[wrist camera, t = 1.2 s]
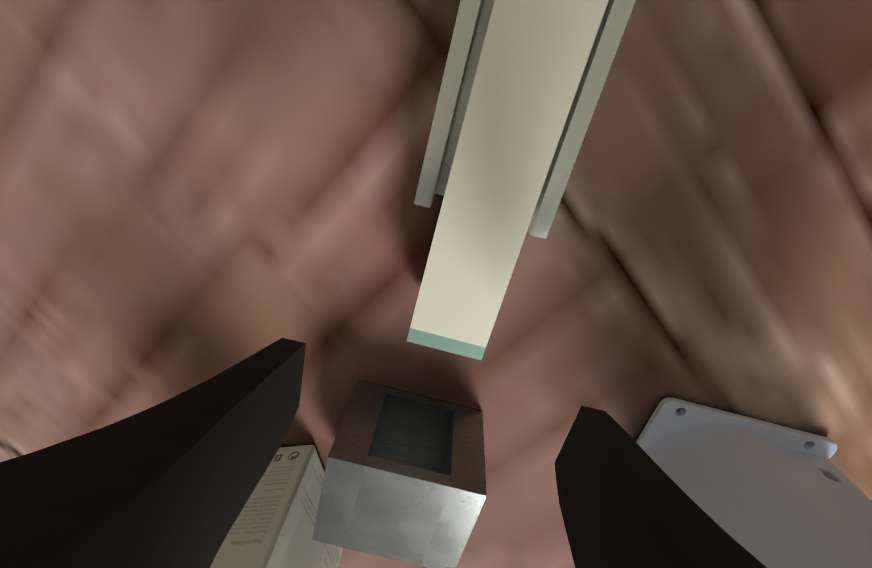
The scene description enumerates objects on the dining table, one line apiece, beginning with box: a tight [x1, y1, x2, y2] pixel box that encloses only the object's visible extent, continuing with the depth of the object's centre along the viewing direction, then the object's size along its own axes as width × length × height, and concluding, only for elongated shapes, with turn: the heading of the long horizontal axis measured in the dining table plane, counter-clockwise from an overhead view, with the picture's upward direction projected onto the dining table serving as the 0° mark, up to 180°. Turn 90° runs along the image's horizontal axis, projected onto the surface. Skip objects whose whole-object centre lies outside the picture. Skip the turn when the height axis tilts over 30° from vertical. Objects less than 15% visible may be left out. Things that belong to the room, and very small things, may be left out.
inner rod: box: [407, 0, 609, 360], centre depth 14 cm, size 3×16×4 cm, turn 166°
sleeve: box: [414, 0, 636, 239], centre depth 14 cm, size 5×10×4 cm, turn 166°
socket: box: [312, 380, 487, 568], centre depth 21 cm, size 7×6×5 cm
